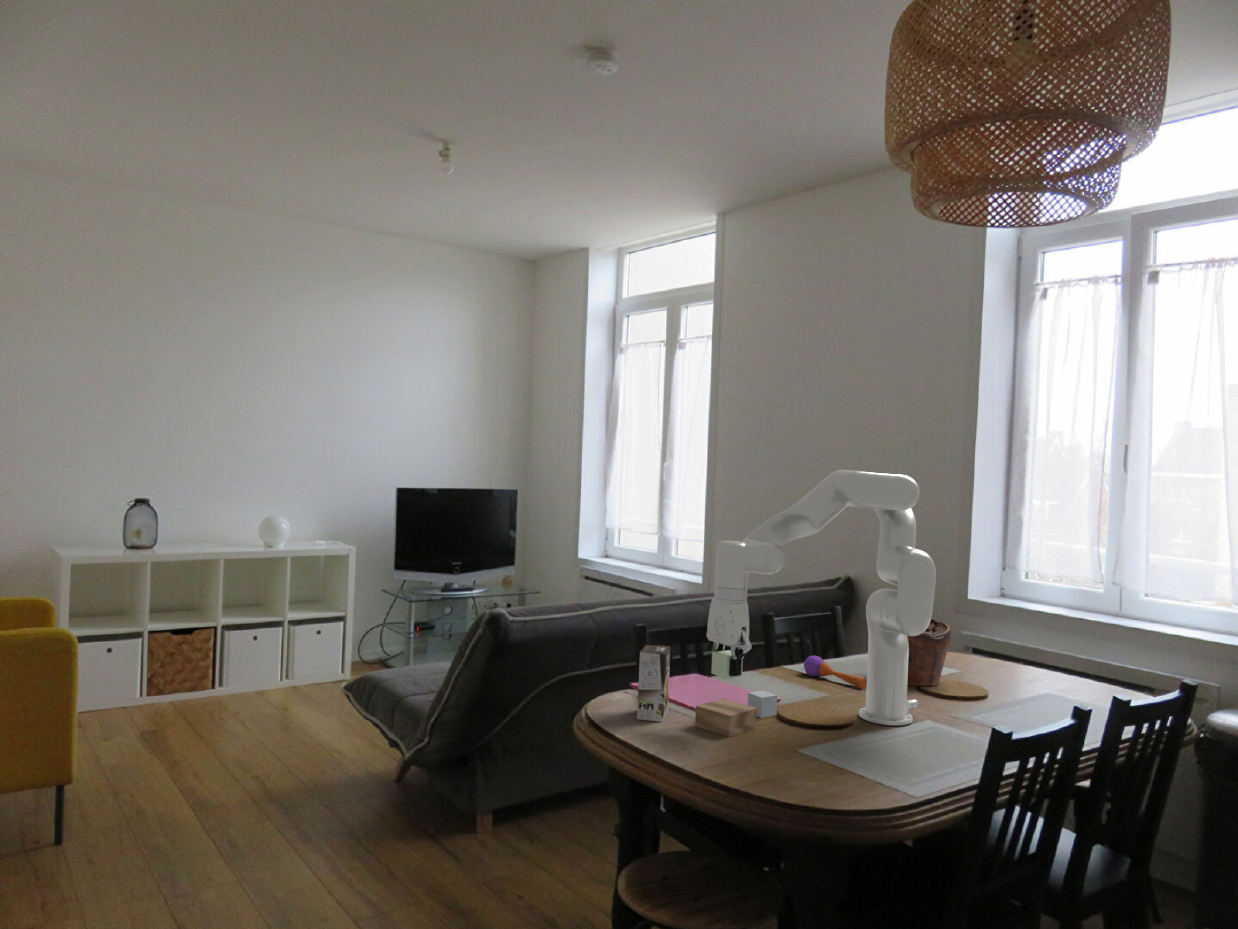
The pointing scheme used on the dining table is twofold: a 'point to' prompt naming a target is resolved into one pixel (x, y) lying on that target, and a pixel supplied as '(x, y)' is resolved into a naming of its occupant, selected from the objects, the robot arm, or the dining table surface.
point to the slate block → (763, 703)
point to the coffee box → (653, 683)
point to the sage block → (722, 664)
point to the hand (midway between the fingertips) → (726, 672)
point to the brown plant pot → (928, 654)
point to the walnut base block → (726, 717)
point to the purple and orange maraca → (831, 672)
